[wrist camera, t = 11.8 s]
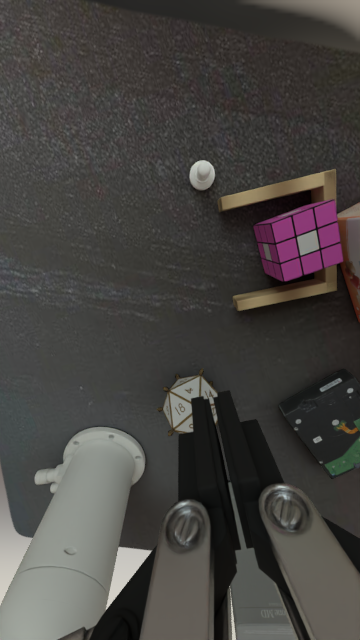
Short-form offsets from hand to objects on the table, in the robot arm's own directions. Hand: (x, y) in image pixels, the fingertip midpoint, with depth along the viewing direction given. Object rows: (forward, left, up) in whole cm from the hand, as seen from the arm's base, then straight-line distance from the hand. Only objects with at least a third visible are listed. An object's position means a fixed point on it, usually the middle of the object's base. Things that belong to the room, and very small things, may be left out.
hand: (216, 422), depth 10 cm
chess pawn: (+3, +13, -21) cm, 25 cm away
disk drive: (+16, -22, -21) cm, 35 cm away
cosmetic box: (+1, -35, -21) cm, 41 cm away
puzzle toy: (+11, +4, -21) cm, 24 cm away
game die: (-3, -12, -21) cm, 24 cm away
